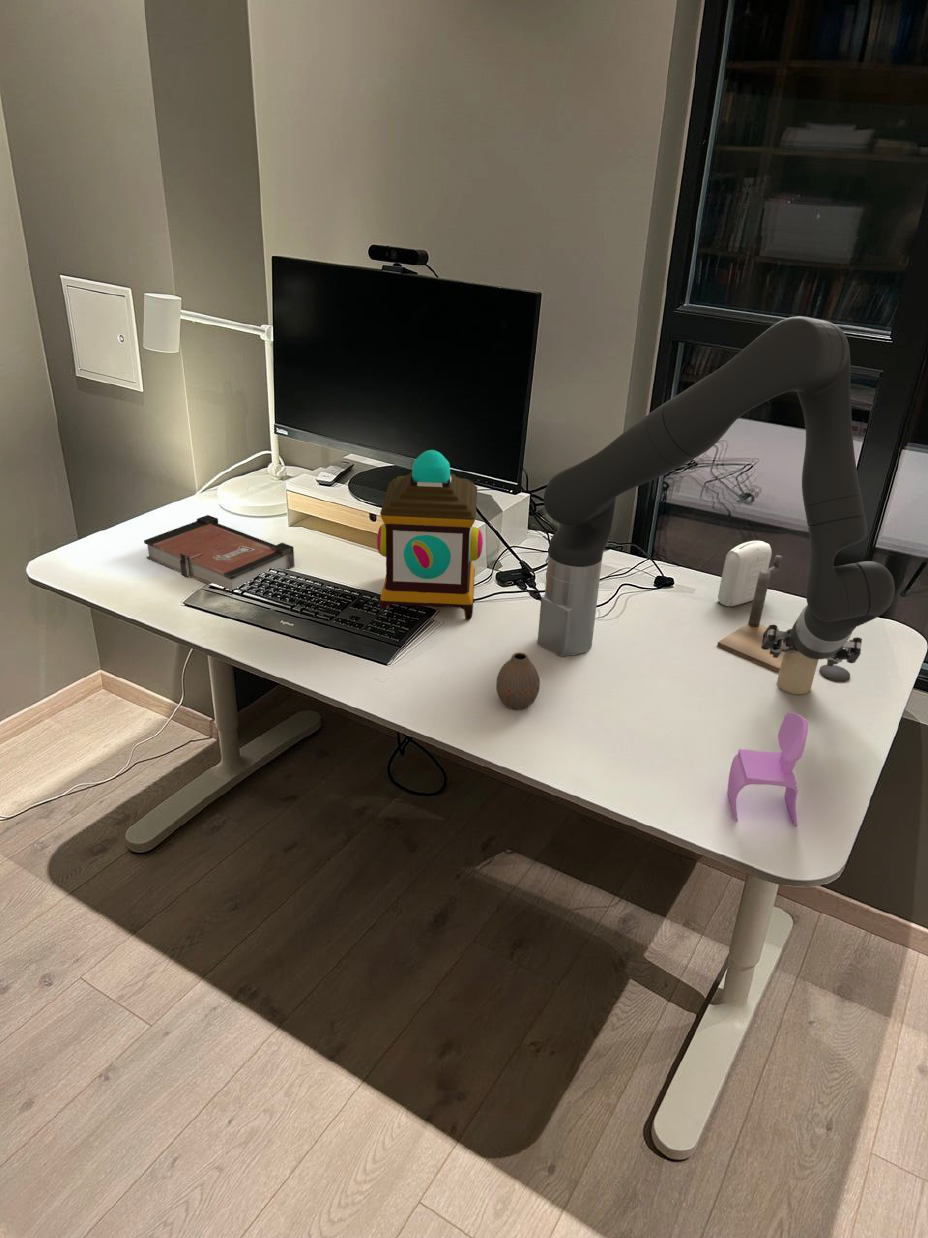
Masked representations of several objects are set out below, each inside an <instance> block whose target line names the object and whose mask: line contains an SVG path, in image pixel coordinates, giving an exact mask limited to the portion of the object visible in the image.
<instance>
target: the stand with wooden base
mask: <svg viewBox="0 0 928 1238" xmlns="http://www.w3.org/2000/svg"><path fill="white" fill-rule="evenodd" d="M773 561H774V562H773V566H771V567H768V570H760V571H759V576H758V580H757V585H756V590H755V594H754V599H753V600H752V605H751V608H750V609H751V610H750V614H749V619H748V622H747V623H746V624H744V625H742V627H740V628H738V629H737V630H735V631H733V632H732V633H730V634H729V635H727V636H725V637H723V638H722V639H720V640H718V641H717V645H716V646H717V647H719V648H722V649H724V650H725V651H728V652H730V653H732V654H735V655H738V656H740V657H742V658H744V659H747V660H749V661H751V662H753V663H756V664H758V665H760V666H763V667H765V668H767V669H769V670H771V671H774V672H776V673H779V671H780V667H781V662H782V658H783V654H784V652H781V653H780V655H779V656H778V658H775V657H773V655H772V654H770V648H769V649H768V650H764V649H762V648H761V645H762V640H763V633H764V632H765V631H766V629H767V628H768V627H767V626H765V625H762V624H760V623H761V618H762V614H763V611H764V610H763V609H764V605H765V602H766V596H767V592H768V588H769V583H770V578H771V576H772V575H774V574H776V573H777V572H779V570H780V568H781V564H782V561H783V556H782V555H778V554H776V555H775V557H774V560H773ZM782 643H783V641H782Z"/></svg>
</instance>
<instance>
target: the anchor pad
mask: <svg viewBox="0 0 928 1238" xmlns="http://www.w3.org/2000/svg"><path fill="white" fill-rule="evenodd" d="M818 671H819V674H820V676H822V678H824V679H826V680H829V681H831V682H837V683H844V682H847V681H849V680H850V677H851V673H850V672H849V671H848V670H847V669H846V668H844V667H842V666H840V665H837V664H834V665H833V666H832V667H831V666H827V664H824V665H821V666H820V667H819V670H818Z"/></svg>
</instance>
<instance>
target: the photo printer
mask: <svg viewBox="0 0 928 1238" xmlns="http://www.w3.org/2000/svg"><path fill="white" fill-rule="evenodd" d="M771 558H772V548H771V545H770V544H769V543H767V542H765V541H762V540H751V541H746V542H743V543H741V544H738V545H737V546H735V547H733V548H732V549H731V550H729V551H728V552H727V553H726V556H725V561H724V564H723V569H722V574H721V579H720V584H719V591H718V595H717V600H718V602H719V603H720V604H722V605H723V606H726V607H734V606H739V605H743V604H746V603H748V602H751V601H752V602H753V599H754V594H755V590H756V585H757V580H758V576H759V571H760V570H768V569H769V568H770V567H769V566H770V562H771Z"/></svg>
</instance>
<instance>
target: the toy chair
mask: <svg viewBox="0 0 928 1238" xmlns="http://www.w3.org/2000/svg"><path fill="white" fill-rule="evenodd" d="M808 724H809V723H808V720H807V719H806V718H805V717H803V716H802V715H800V714H798V713H795V712H791V711H789V712H787V713H786V714H785V715H784V717H783V720H782V723H781V726H780V728H779V731H778V733H777V740H778V744H779V748H780V750H781V752H779V751H777V752H776V751H760V750H752V749H742V748H739V749H738V751H737V754H735V756H734V757H733V758H732V761H731V764H730V770H729V775H728V779H727V780H728V782H727V794H728V798H729V803H730V807H731V810H732V814H733V819H734V821H735V822H738V821H739V820H738V813H737V798H738V796H739V793H740V792H741V791H742V789H743V788H745V787H746V786H749V785H761V786H763V785H765V786H775V787H776V786H777V787H783V788H785V792H784V799H785V802H786V805H787V807H788V810H789V814H790V817H791V820H792V822H793V825H794V827H798V820H797V809H796V807H797V806H796V805H797V797H798V789H797V783H798V782H797V779H796V776H795V773H794V772H793V770H794V768H795V765H796V763H797V762H798V761H799V760H800V759H801V758H802V756H803V753H804V750H805V746H806V742H807V738H808V737H807V736H808V731H809V725H808Z"/></svg>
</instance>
